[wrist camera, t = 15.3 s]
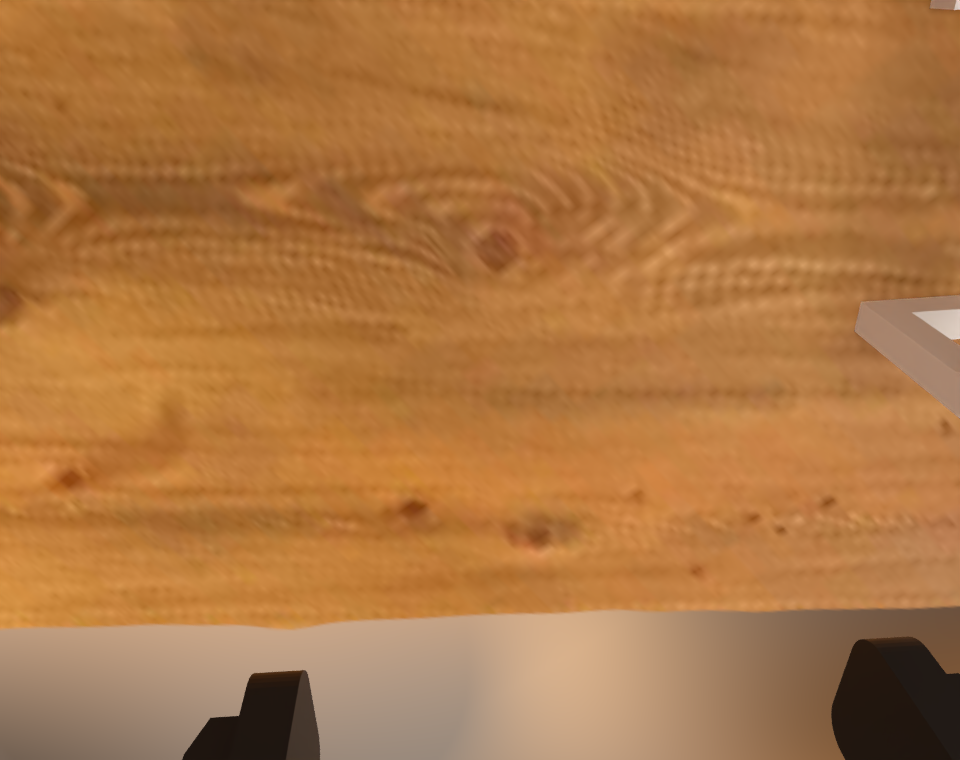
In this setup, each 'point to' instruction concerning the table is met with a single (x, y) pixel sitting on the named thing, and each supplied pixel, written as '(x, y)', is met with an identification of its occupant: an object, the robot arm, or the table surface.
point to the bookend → (919, 329)
